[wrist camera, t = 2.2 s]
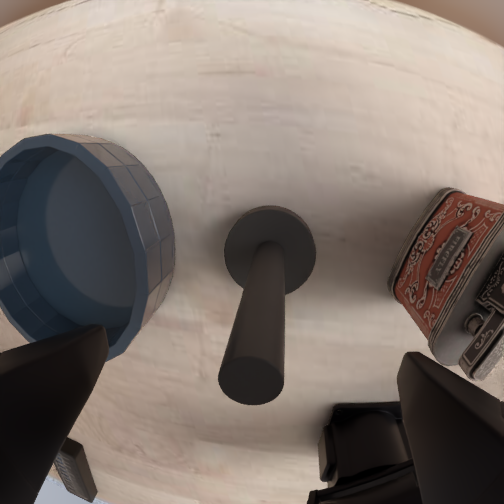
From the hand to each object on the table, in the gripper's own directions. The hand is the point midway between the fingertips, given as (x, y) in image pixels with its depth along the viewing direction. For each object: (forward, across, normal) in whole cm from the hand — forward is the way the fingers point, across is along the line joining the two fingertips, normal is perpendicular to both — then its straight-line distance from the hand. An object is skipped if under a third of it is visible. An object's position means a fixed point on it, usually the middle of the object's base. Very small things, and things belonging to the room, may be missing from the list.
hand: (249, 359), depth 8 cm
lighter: (+11, -10, -1) cm, 15 cm away
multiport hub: (+11, +23, +32) cm, 41 cm away
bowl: (+11, +13, 0) cm, 17 cm away
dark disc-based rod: (+11, 0, 0) cm, 11 cm away
